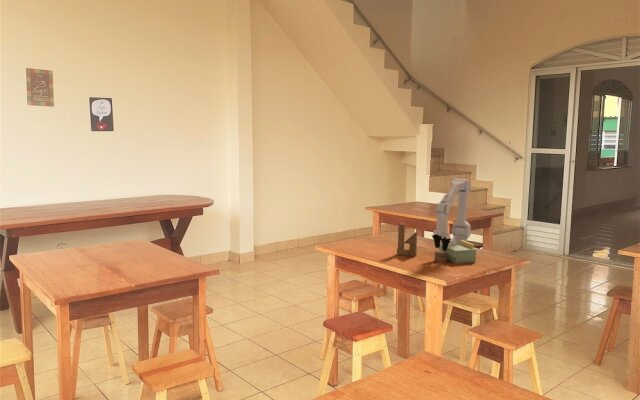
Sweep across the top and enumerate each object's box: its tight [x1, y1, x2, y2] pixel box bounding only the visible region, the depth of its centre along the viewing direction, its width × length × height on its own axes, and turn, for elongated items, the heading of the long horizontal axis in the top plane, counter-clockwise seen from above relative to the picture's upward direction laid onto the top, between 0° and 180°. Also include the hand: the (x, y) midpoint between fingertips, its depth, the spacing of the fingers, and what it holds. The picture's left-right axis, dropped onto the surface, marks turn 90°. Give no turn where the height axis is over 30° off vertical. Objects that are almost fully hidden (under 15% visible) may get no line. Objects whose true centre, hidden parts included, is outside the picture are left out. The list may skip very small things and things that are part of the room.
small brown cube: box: [434, 250, 448, 263], centre depth 292 cm, size 4×5×5 cm
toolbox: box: [447, 250, 477, 265], centre depth 295 cm, size 16×12×6 cm
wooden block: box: [396, 223, 418, 258], centre depth 303 cm, size 4×11×18 cm, turn 68°
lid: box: [438, 240, 477, 258], centre depth 294 cm, size 16×13×6 cm
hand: (440, 249), depth 291 cm, fingers open, 7 cm apart
